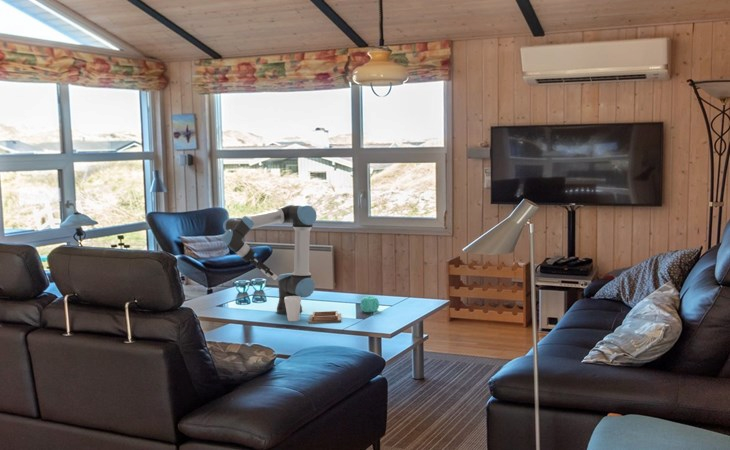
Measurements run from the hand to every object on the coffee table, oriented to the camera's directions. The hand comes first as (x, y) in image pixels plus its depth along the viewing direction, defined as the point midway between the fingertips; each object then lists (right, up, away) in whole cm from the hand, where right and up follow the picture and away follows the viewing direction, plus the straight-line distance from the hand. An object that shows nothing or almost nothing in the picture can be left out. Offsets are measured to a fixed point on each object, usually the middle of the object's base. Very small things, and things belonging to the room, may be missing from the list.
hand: (273, 277), depth 418 cm
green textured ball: (+54, -22, +24) cm, 63 cm away
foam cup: (+11, -25, +6) cm, 28 cm away
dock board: (+29, -24, +5) cm, 38 cm away
